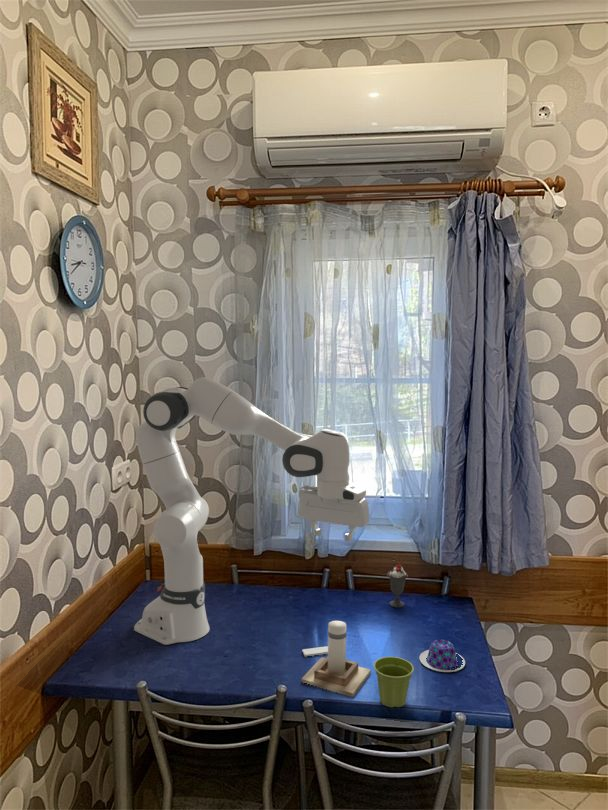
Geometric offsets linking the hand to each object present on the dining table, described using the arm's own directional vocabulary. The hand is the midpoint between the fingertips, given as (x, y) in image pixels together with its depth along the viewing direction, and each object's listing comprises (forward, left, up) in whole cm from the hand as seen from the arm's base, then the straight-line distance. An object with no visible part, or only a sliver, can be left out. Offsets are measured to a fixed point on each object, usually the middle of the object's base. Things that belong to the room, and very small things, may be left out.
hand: (332, 537), depth 171 cm
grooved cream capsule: (+8, -15, -30) cm, 35 cm away
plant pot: (+24, -18, -31) cm, 43 cm away
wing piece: (-1, -5, -32) cm, 32 cm away
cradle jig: (+8, -15, -31) cm, 35 cm away
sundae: (+8, +34, -31) cm, 47 cm away
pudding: (+30, +5, -32) cm, 44 cm away
